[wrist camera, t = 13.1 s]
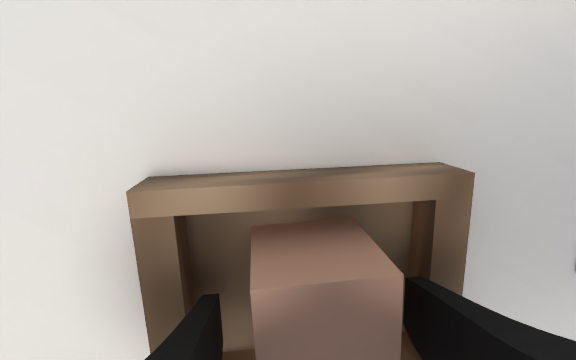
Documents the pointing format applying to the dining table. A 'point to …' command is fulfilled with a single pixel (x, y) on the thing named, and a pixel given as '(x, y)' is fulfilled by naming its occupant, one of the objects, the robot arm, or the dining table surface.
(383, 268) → the block
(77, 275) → the dining table surface
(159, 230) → the board
